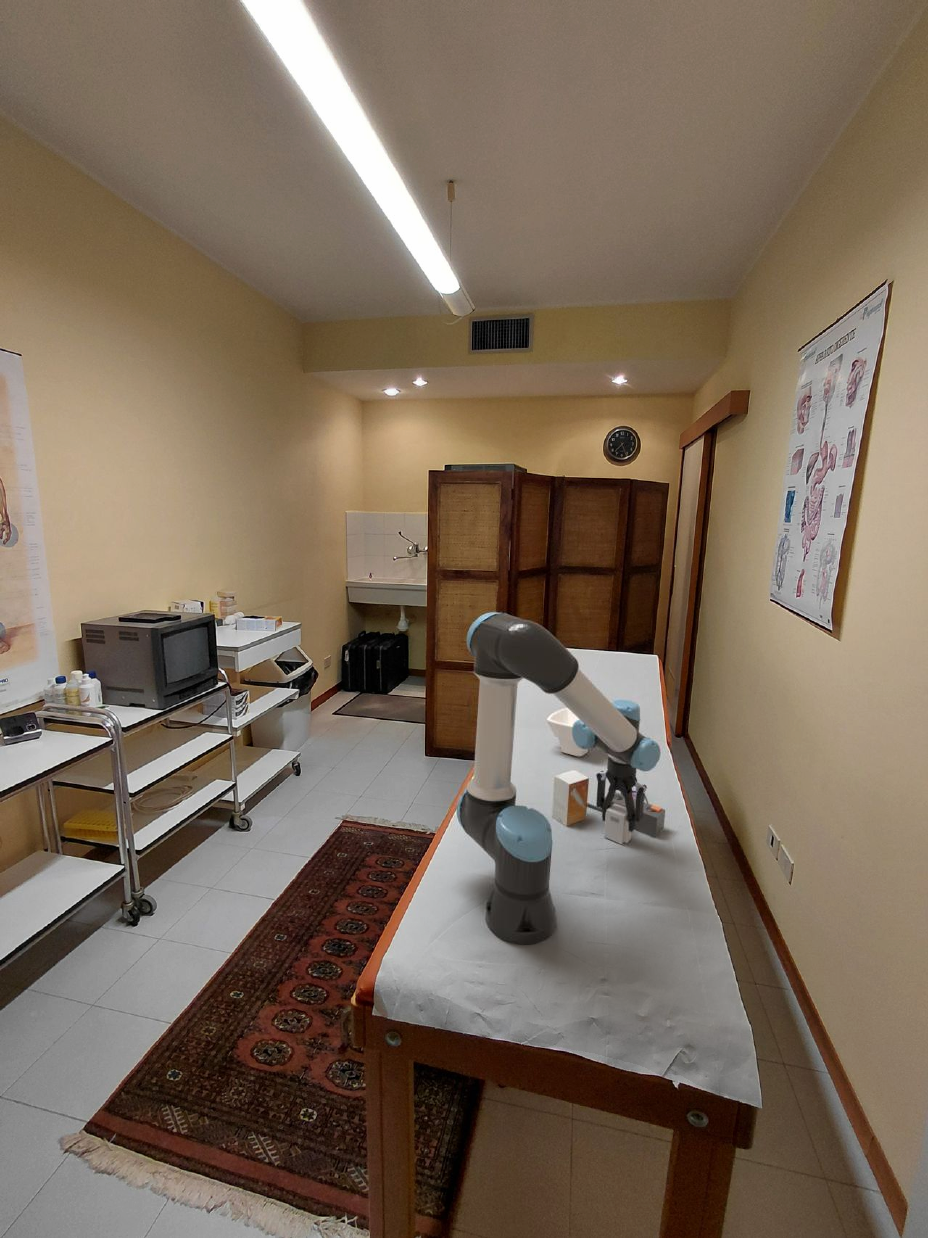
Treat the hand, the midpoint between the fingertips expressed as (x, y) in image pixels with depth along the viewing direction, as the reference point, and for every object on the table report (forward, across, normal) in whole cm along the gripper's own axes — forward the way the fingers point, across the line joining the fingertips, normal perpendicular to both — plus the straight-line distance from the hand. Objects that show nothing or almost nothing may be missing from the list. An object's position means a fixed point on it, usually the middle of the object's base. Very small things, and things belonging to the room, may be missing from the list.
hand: (617, 836), depth 149 cm
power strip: (+1, +4, -10) cm, 11 cm away
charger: (0, 0, -1) cm, 1 cm away
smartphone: (+2, +4, -22) cm, 22 cm away
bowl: (+2, +37, -43) cm, 57 cm away
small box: (+1, +15, 0) cm, 15 cm away
